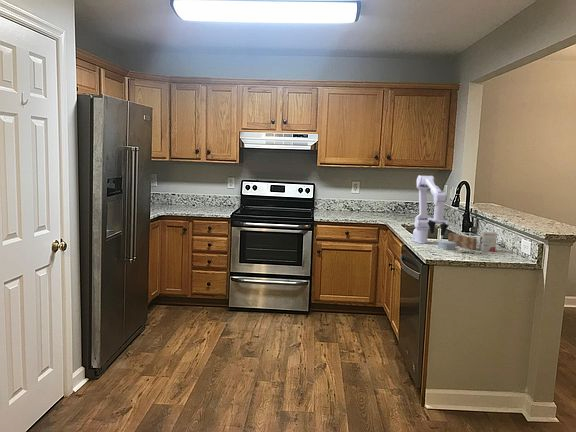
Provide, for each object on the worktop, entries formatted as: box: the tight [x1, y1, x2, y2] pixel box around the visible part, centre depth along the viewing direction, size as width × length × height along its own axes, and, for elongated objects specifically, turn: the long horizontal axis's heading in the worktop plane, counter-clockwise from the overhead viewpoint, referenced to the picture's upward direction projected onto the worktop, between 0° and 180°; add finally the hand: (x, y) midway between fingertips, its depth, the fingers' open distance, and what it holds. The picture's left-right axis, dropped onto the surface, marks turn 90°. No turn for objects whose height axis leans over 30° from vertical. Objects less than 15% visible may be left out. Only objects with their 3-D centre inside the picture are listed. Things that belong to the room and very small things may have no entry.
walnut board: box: [447, 232, 478, 251], centre depth 304 cm, size 20×3×7 cm, turn 28°
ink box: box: [478, 230, 498, 252], centre depth 295 cm, size 9×5×12 cm, turn 92°
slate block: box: [437, 240, 457, 251], centre depth 298 cm, size 7×8×4 cm
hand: (437, 234), depth 292 cm, fingers open, 7 cm apart
